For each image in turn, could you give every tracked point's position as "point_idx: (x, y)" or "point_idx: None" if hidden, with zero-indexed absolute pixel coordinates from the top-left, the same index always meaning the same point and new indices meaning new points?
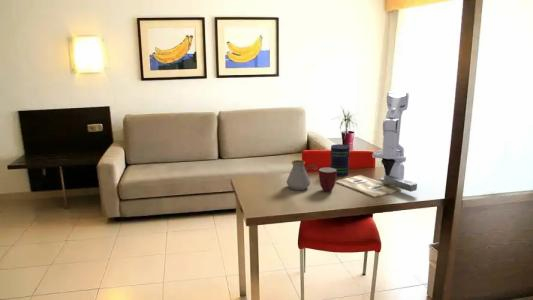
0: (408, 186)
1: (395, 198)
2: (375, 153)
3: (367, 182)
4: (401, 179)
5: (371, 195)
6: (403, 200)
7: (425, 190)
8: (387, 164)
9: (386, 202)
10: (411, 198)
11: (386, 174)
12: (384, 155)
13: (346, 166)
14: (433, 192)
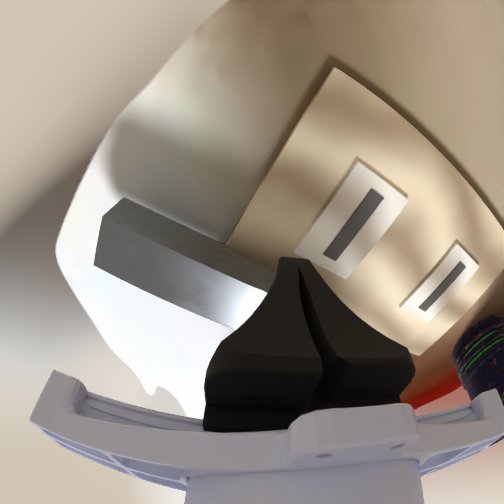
0: (128, 219)
1: (204, 117)
2: (479, 448)
3: (401, 292)
4: (202, 307)
5: (359, 84)
6: (153, 109)
7: (125, 305)
8: (307, 333)
9: (238, 22)
10: (127, 168)
11: (302, 260)
12: (399, 472)
13: (479, 363)
14: (93, 293)
